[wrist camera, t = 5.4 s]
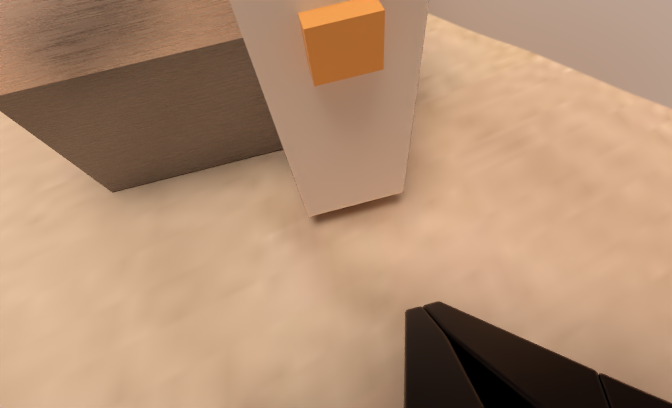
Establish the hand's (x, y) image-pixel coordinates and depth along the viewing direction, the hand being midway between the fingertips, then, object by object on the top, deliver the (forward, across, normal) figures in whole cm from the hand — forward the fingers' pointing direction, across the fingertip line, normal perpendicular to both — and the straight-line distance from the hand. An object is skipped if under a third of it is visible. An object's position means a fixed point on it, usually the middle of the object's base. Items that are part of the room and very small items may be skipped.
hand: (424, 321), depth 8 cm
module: (+10, 0, -2) cm, 10 cm away
